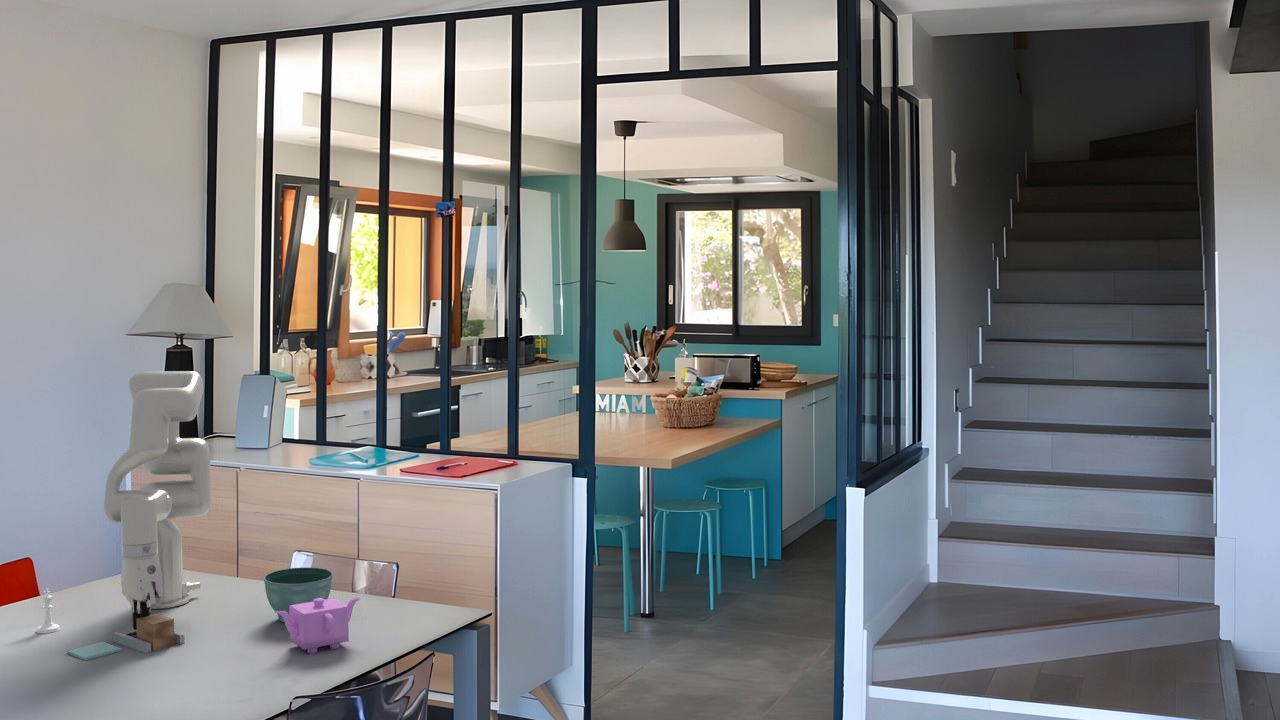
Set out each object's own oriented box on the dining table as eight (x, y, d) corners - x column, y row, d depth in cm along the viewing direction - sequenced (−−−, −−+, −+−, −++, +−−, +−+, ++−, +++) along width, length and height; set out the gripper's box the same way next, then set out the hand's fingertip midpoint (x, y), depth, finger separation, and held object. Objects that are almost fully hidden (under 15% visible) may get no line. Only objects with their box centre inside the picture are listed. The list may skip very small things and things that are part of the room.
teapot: (330, 659, 236) (329, 609, 235) (274, 655, 238) (273, 606, 238) (362, 638, 251) (361, 592, 250) (309, 634, 253) (308, 588, 253)
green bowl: (347, 614, 270) (346, 571, 270) (301, 631, 256) (300, 586, 255) (297, 606, 277) (296, 564, 276) (249, 623, 262) (249, 579, 262)
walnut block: (157, 639, 250) (157, 613, 249) (174, 644, 245) (174, 618, 245) (136, 644, 246) (136, 618, 245) (153, 650, 241) (152, 624, 241)
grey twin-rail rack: (150, 632, 255) (150, 623, 255) (184, 642, 247) (184, 634, 247) (113, 641, 248) (113, 632, 248) (146, 653, 240) (146, 644, 239)
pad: (102, 644, 246) (102, 641, 246) (121, 651, 241) (121, 648, 241) (66, 653, 239) (66, 650, 239) (85, 660, 235) (85, 657, 235)
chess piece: (49, 634, 253) (48, 591, 253) (31, 632, 254) (30, 590, 254) (64, 627, 258) (63, 586, 258) (46, 626, 259) (45, 585, 259)
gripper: (173, 551, 247) (174, 630, 247) (138, 542, 255) (139, 619, 256) (141, 557, 240) (143, 638, 241) (106, 548, 249) (108, 626, 250)
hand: (141, 628), depth 249 cm, fingers closed
